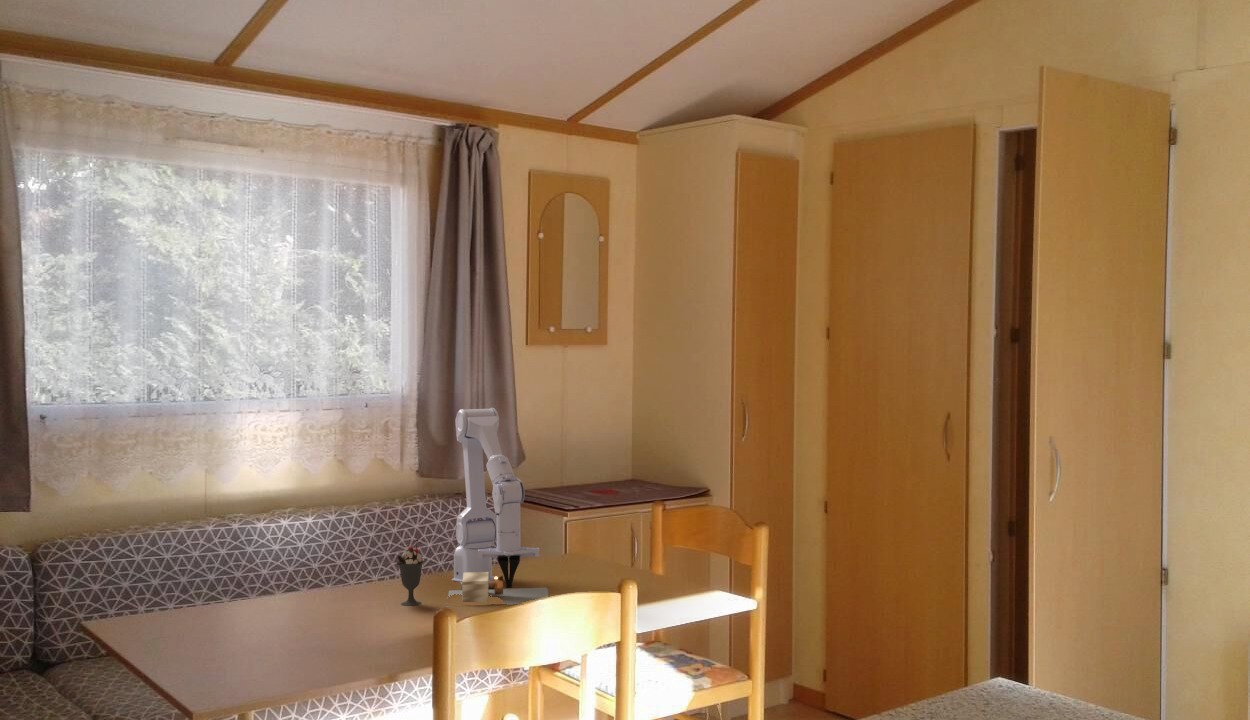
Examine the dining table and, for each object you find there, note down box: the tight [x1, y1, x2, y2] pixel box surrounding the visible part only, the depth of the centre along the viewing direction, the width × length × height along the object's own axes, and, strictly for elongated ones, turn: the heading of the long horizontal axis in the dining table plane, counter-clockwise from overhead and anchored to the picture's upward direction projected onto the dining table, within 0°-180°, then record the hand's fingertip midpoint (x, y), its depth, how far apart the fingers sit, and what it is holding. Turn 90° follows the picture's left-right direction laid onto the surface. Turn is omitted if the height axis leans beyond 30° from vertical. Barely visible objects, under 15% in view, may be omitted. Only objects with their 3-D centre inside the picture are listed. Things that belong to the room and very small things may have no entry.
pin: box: [460, 575, 504, 595], centre depth 269 cm, size 10×4×4 cm, turn 96°
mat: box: [445, 587, 549, 608], centre depth 270 cm, size 24×16×1 cm, turn 96°
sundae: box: [395, 539, 426, 607], centre depth 264 cm, size 7×7×15 cm
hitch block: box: [462, 572, 489, 602], centre depth 269 cm, size 6×10×5 cm, turn 6°
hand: (509, 587), depth 270 cm, fingers closed
